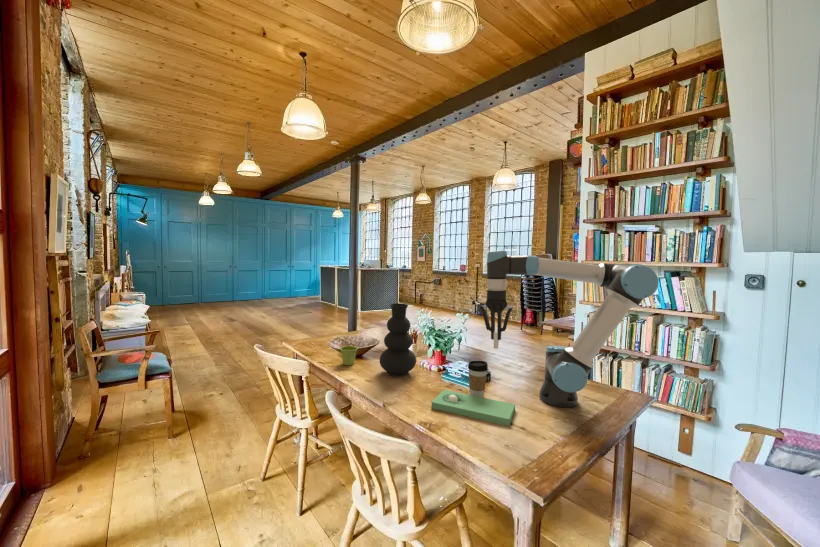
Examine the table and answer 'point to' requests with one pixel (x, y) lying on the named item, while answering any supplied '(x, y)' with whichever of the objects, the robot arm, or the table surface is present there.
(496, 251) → the robot arm
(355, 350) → the plant pot
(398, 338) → the vase
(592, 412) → the table surface
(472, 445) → the table surface
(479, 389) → the coffee cup
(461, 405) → the block
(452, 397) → the ball
